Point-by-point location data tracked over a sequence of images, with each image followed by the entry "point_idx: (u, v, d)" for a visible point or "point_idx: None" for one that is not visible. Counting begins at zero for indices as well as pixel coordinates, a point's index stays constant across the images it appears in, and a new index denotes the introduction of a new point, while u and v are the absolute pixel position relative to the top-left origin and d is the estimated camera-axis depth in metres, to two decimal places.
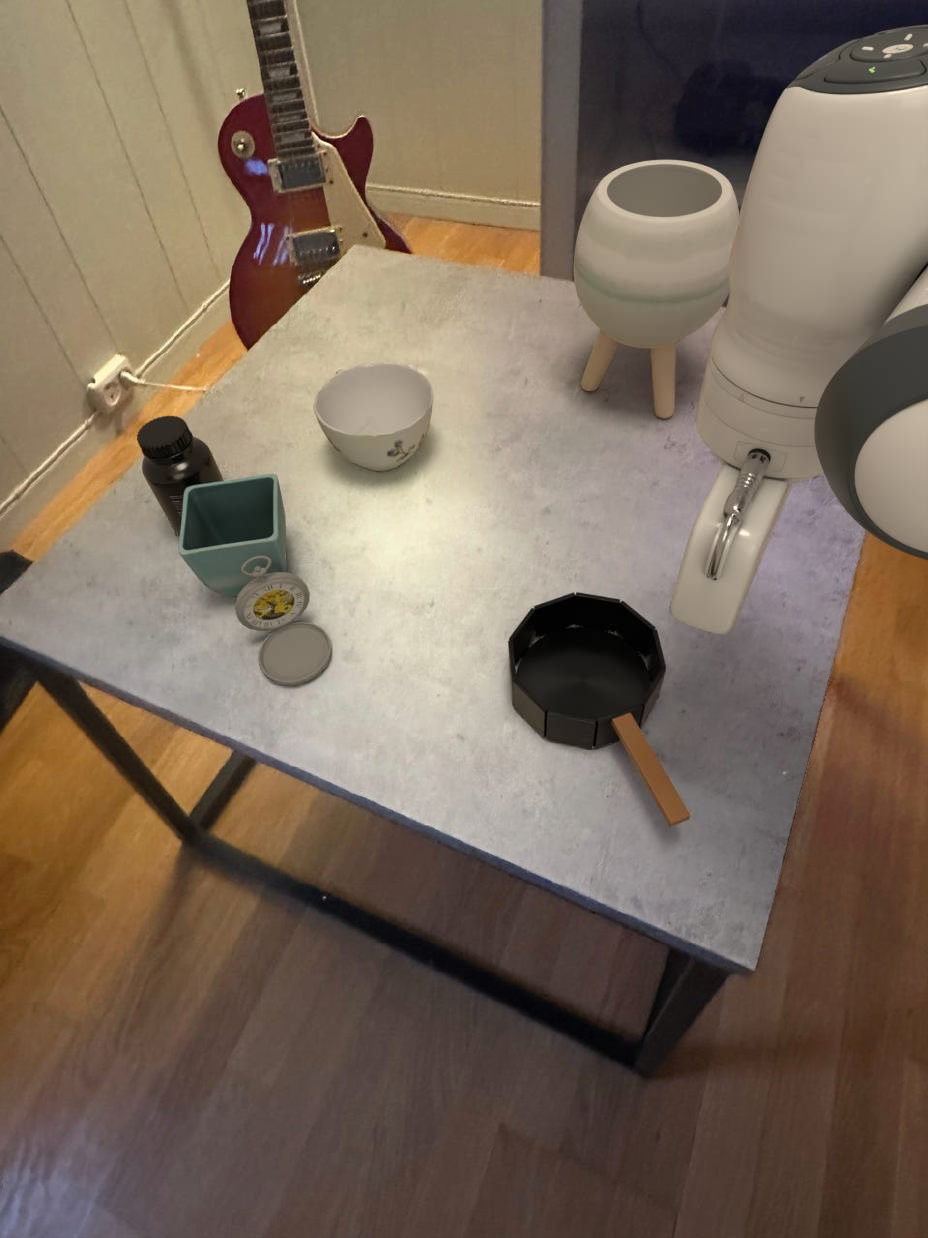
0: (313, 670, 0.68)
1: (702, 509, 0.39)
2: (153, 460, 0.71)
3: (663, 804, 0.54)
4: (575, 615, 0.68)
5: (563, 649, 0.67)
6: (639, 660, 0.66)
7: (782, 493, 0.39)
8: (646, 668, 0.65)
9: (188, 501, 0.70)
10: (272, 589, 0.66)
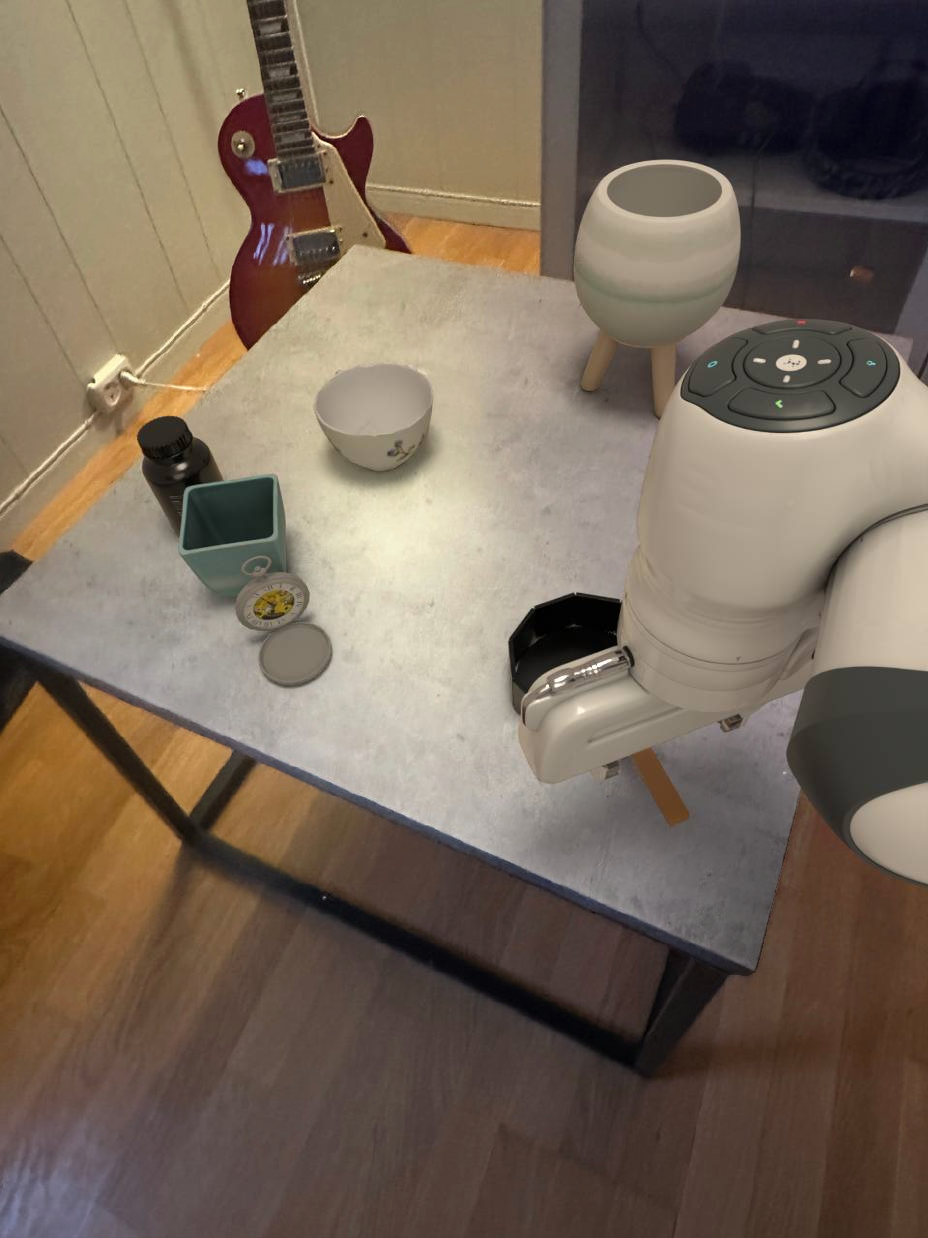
0: (313, 670, 0.68)
1: (556, 667, 0.41)
2: (153, 460, 0.71)
3: (663, 804, 0.54)
4: (575, 615, 0.68)
5: (563, 649, 0.67)
6: None
7: (633, 699, 0.39)
8: None
9: (188, 501, 0.70)
10: (272, 589, 0.66)
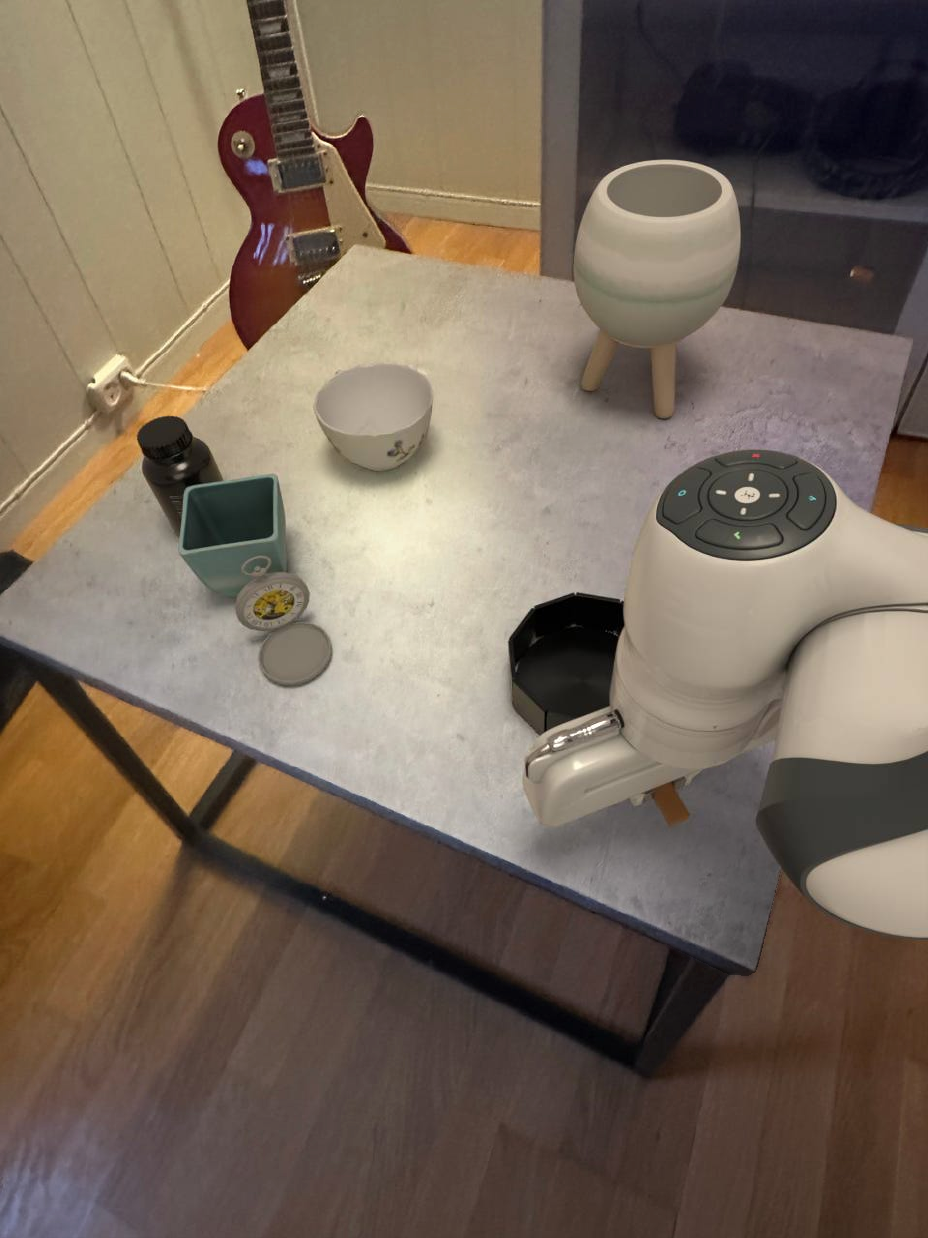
0: (313, 670, 0.68)
1: (556, 726, 0.46)
2: (153, 460, 0.71)
3: (663, 804, 0.54)
4: (575, 615, 0.68)
5: (563, 649, 0.67)
6: None
7: (624, 756, 0.44)
8: None
9: (188, 501, 0.70)
10: (272, 589, 0.66)
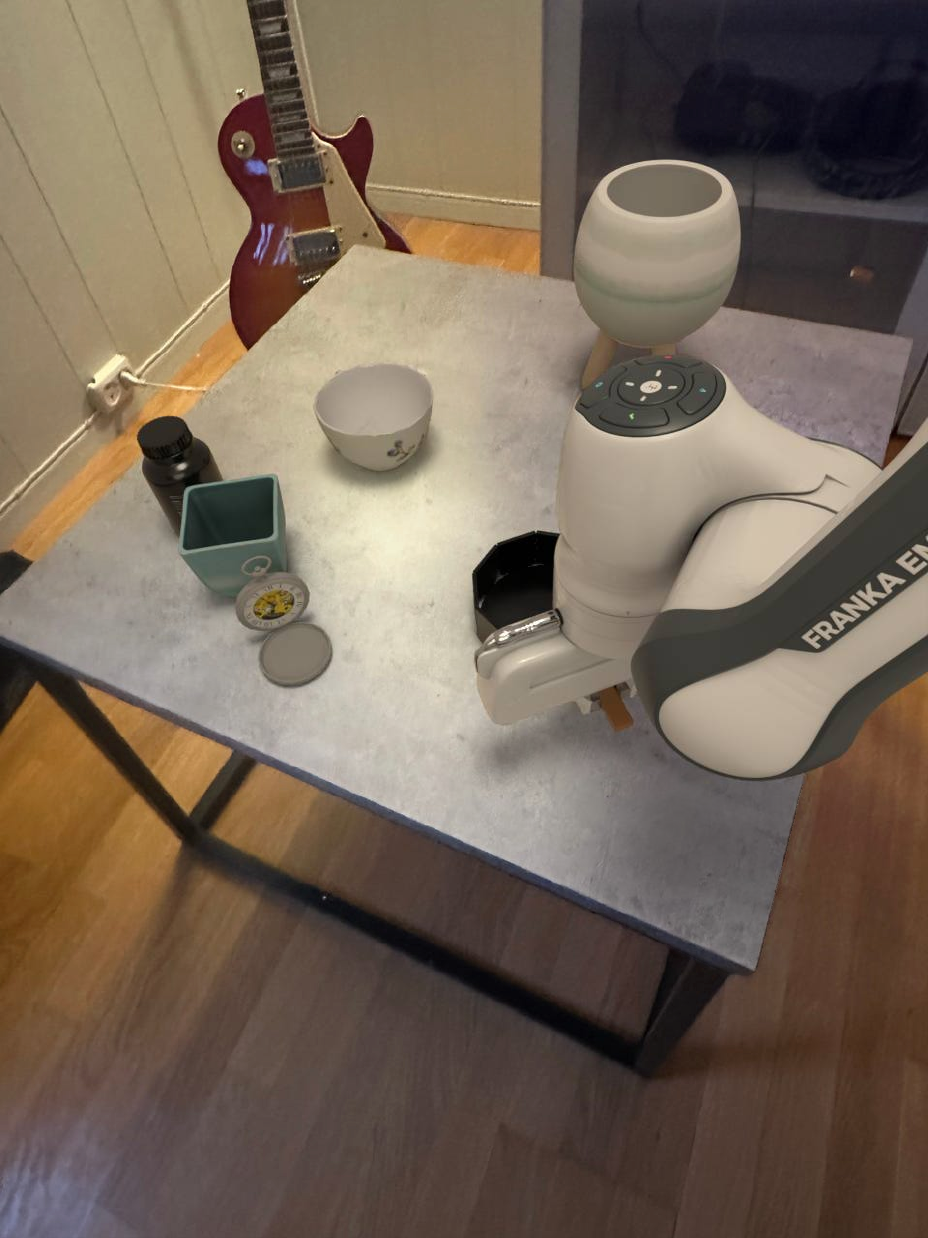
0: (313, 670, 0.68)
1: (503, 627, 0.51)
2: (153, 460, 0.71)
3: (610, 712, 0.58)
4: (537, 554, 0.72)
5: (525, 585, 0.72)
6: None
7: (564, 651, 0.49)
8: None
9: (188, 501, 0.70)
10: (272, 589, 0.66)
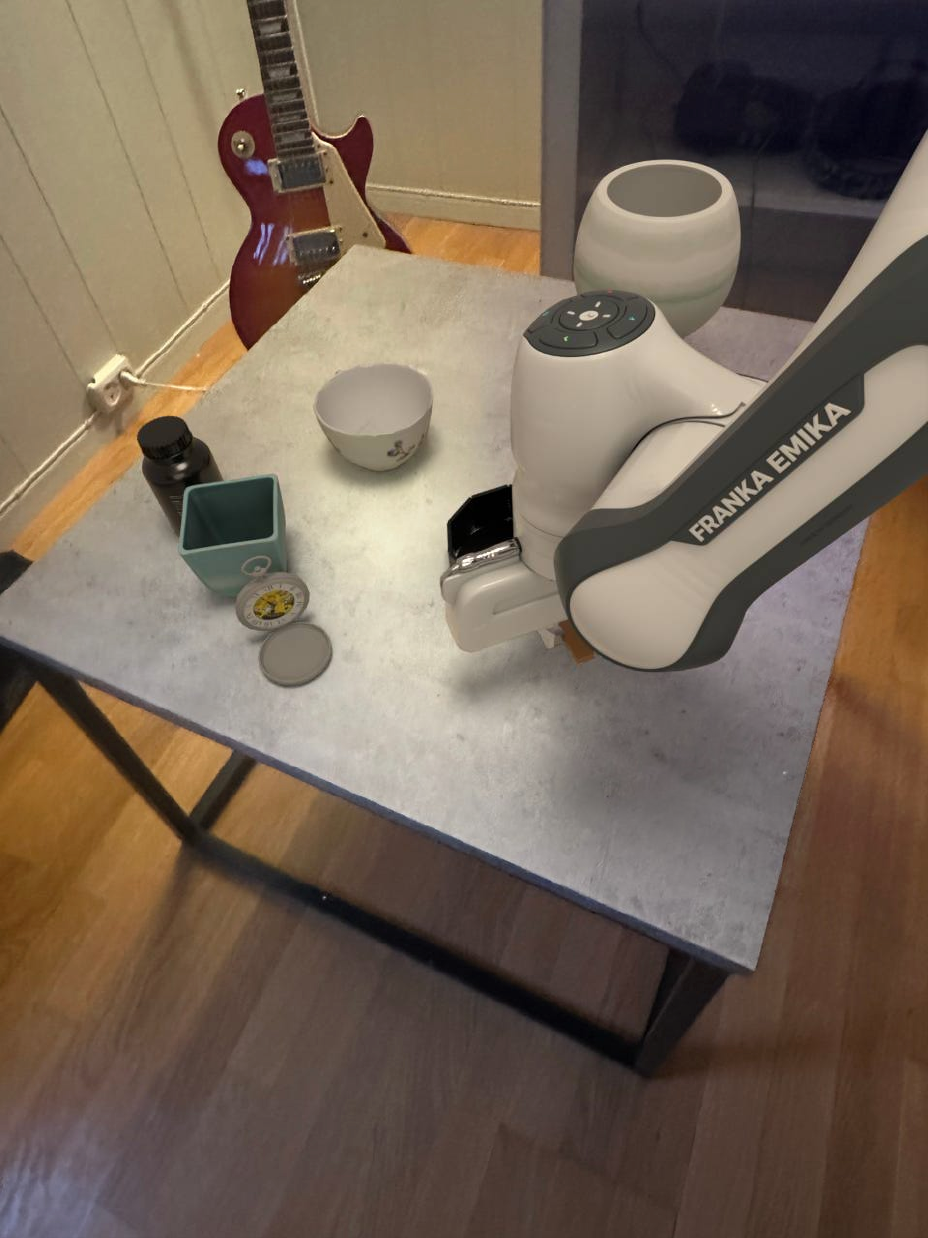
0: (313, 670, 0.68)
1: None
2: (153, 460, 0.71)
3: (572, 645, 0.62)
4: (510, 507, 0.76)
5: (498, 537, 0.76)
6: None
7: (522, 577, 0.53)
8: None
9: (188, 501, 0.70)
10: (272, 589, 0.66)
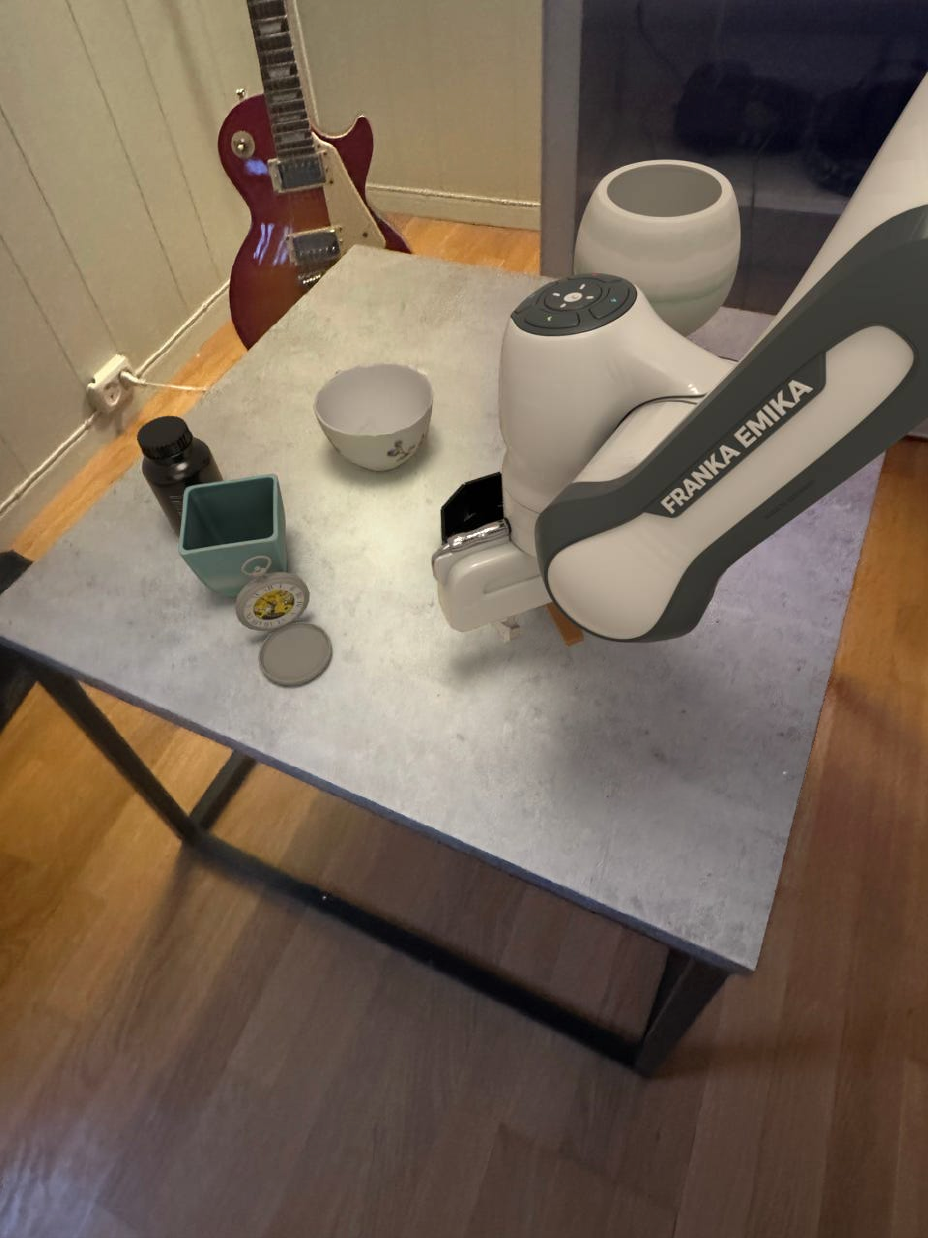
0: (313, 670, 0.68)
1: None
2: (153, 460, 0.71)
3: (562, 627, 0.63)
4: None
5: None
6: None
7: (512, 556, 0.54)
8: None
9: (188, 501, 0.70)
10: (272, 589, 0.66)
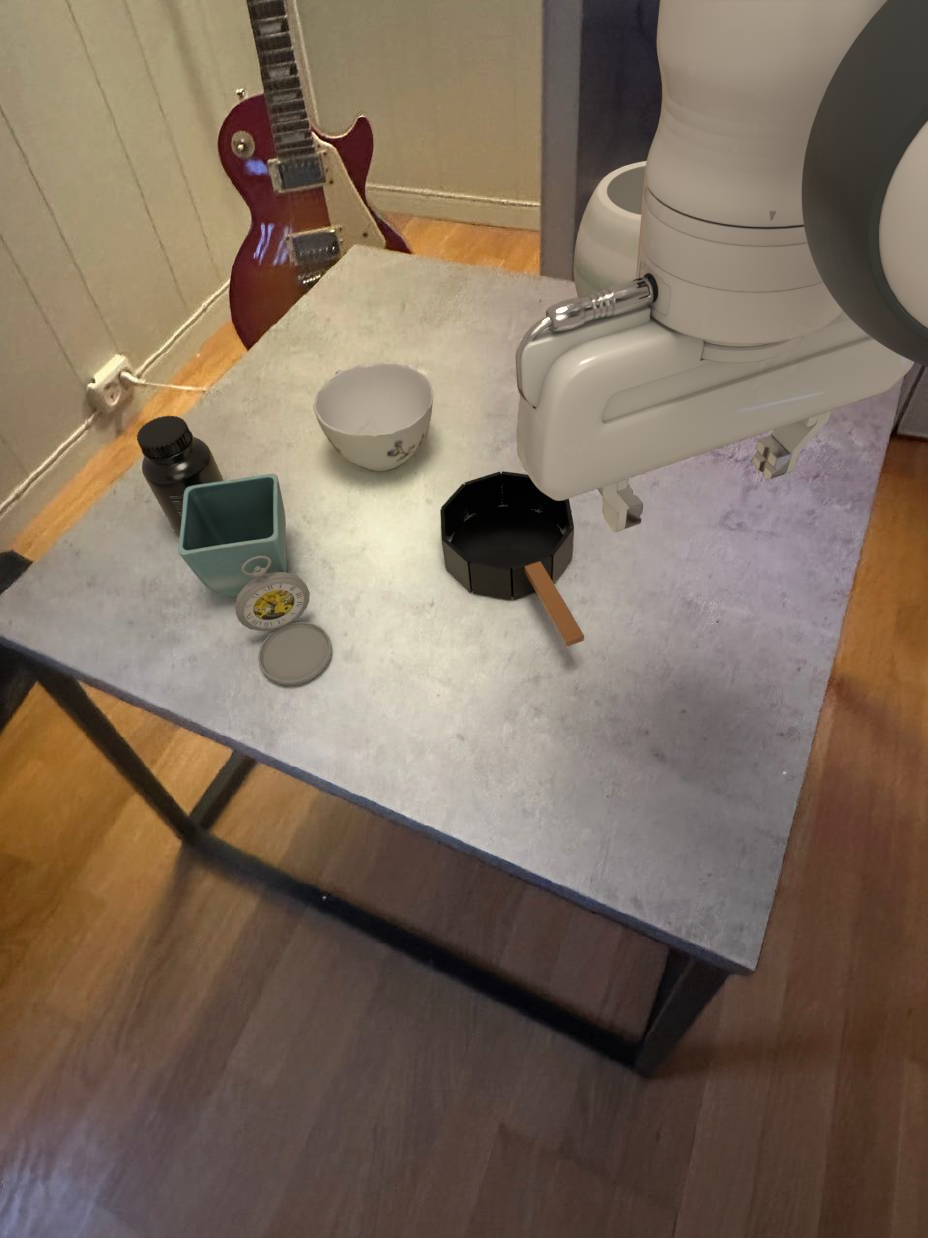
0: (313, 670, 0.68)
1: None
2: (153, 460, 0.71)
3: (562, 627, 0.63)
4: (503, 495, 0.77)
5: (491, 523, 0.77)
6: (557, 531, 0.76)
7: (658, 344, 0.31)
8: (562, 537, 0.75)
9: (188, 501, 0.70)
10: (272, 589, 0.66)
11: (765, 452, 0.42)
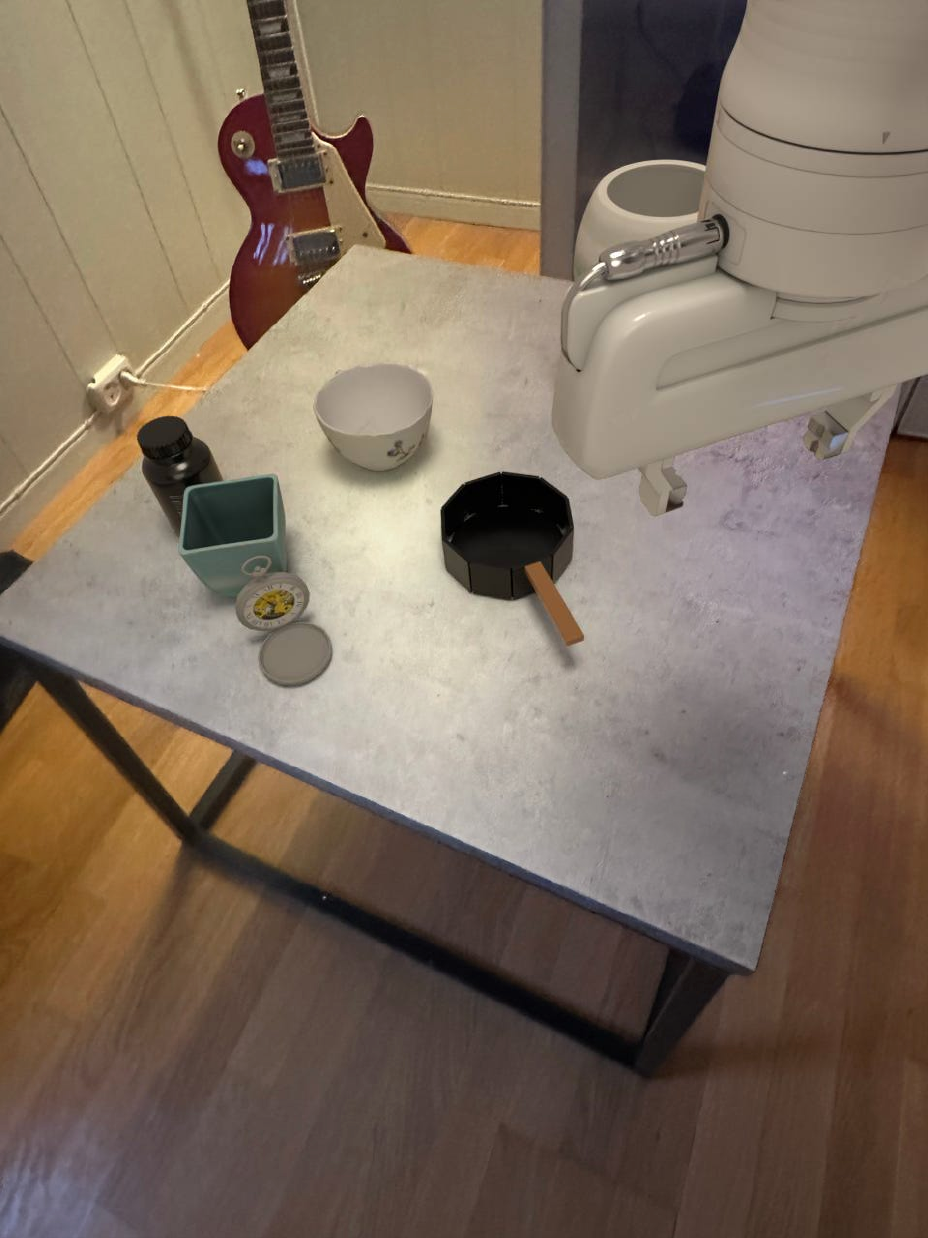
0: (313, 670, 0.68)
1: None
2: (153, 460, 0.71)
3: (562, 627, 0.63)
4: (503, 495, 0.77)
5: (491, 523, 0.77)
6: (557, 531, 0.76)
7: (726, 298, 0.27)
8: (562, 537, 0.75)
9: (188, 501, 0.70)
10: (272, 589, 0.66)
11: (819, 430, 0.38)
